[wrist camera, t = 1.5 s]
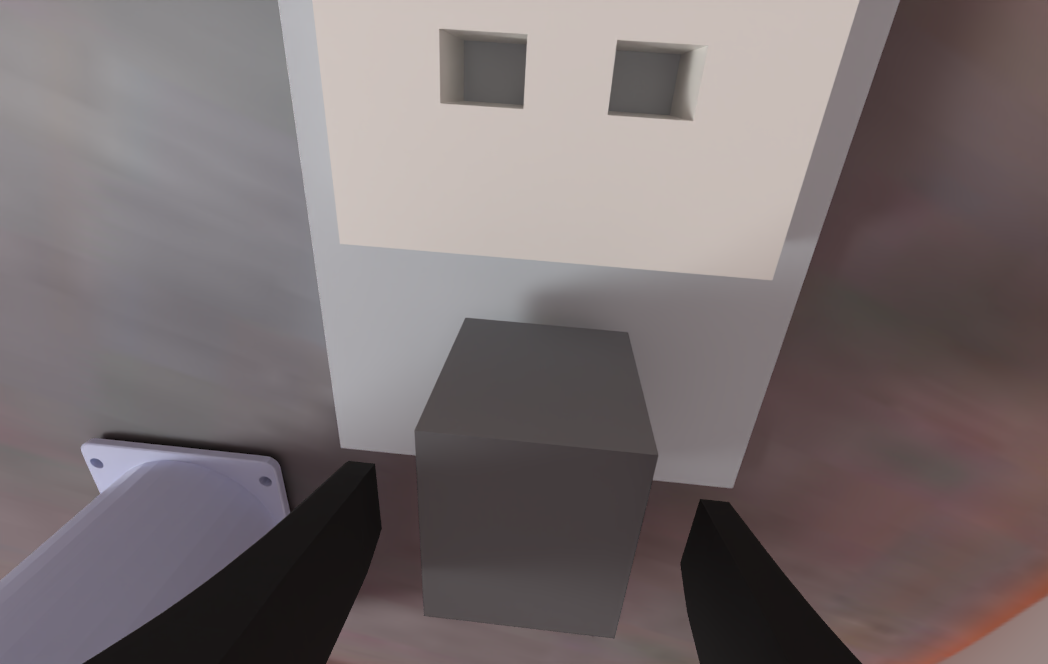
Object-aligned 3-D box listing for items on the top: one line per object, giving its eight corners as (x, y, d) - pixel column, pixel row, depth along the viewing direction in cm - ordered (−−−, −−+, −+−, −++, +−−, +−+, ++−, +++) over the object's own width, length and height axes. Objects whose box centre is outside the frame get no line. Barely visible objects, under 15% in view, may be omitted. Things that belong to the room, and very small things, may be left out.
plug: (470, 479, 18) (426, 655, 12) (472, 300, 15) (414, 430, 9) (593, 492, 18) (605, 677, 12) (623, 314, 14) (658, 455, 9)
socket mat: (724, 468, 18) (732, 488, 17) (351, 430, 18) (340, 447, 18) (971, -292, 9) (1014, -333, 8) (259, -314, 10) (228, -354, 9)
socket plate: (377, 218, 14) (328, 251, 11) (336, -312, 9) (235, -485, 6) (737, 248, 13) (783, 290, 10) (883, -294, 9) (1031, -473, 6)
